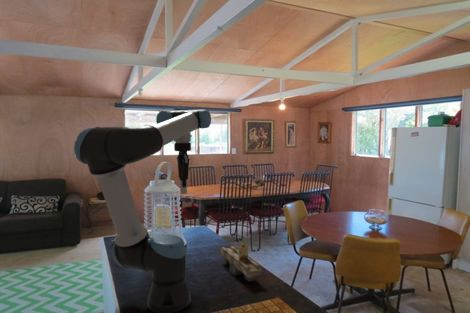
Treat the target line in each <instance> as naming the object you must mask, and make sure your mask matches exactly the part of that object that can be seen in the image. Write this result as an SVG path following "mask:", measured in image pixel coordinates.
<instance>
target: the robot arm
mask: <svg viewBox="0 0 470 313" xmlns="http://www.w3.org/2000/svg"><path fill="white" fill-rule="evenodd" d="M155 118H156V119H155V121H156V123H155V124H144V125H141V126H108V127H107V126H105V127H100V126H95V127H89V128H86V129H82V131H80V133H78V135H77V137H76V140H75V141H74V147H73V150H74V152H73V153H74V155H75V157H76V159H77V161H79V162H80V163H82V164H85V165H87V167H88V170H89V172H90V173H89V174H90V175H92V176H95V177H96V178H97V180H98V184H99V186H100V189H101V192H102V195H103V197H104V200H105V203H106V206H107V210H108V212H109V215H110V218H111V220H112V224H113V226H114V230H115V232H116V236H115V238H114V241H113V244H112V248H113V249H112V250H111V255H112V259H113V261H114V262H115V263H116V265H118V266H119V267H122V268H125V269H130V270H136V271H143V272H149V273H151V286H150V289H149V294H148V296H147V301H146V302H147V308H148V310H150V311H151V312H153V313H177V312H180V311H182V310H185V309H186V308H187V307H189V305H190V304H191V301H192V300H191V299H192V296H191V291H190V289H189V285H188V283H187V279H186V278H187V277H186V253H187V251H186V246H185V241H184V239H183V238H182V237H180V236H178V235H175V234H172V233H159V234H156V235H153V236H152V237H150V235H149V231H148V228H147V227H145V226H143V225H142V223H141V220H140V217H139V214H138V210H137V207H136V204H135V200H134V198H133V194H132V190H131V188H130V184H129V182H128V178H127V174H126V171H125V167H126V166H127V165H130V164H133V163H137V162H139V161H140V162H141V161H142V160H144V159H146V158H149V157H151V156H153V155H154V154H157V153H159V152H160V151H161V150H162V148H163V147H164V146H165V145H167V144H169V143H172V142H174V144H173V146H174V147H173V148H174V151H175V152H178V155H177V157H176V161H177V172H178V178H179V190H180V195H187V194H188V179H189V168H190V165H189V164H190V158H189V154H188V152H191V150H192V143H191V141H192V140H191V139H192V137H193V136H192V134H191V133H192V132H194V131H196V130H198V129H202V130H203V129H208V128H209V127H210V126H211V124H212V115H211V113H210V111H209V110H208V109H201V108H200V109H192V110H191V109H190V108H188V107H174V109H173V110H160V111H158V113H157V114H156V117H155Z"/></svg>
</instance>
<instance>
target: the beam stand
mask: <svg viewBox="0 0 470 313" xmlns="http://www.w3.org/2000/svg"><path fill="white" fill-rule="evenodd" d="M219 253H220V255H222V256H223V258H225V263H226V264H228V265H229V273H231V274H232V275H233V276H240V275H244V277H243V278H244V279H245V280H246V281H247V282H254V281H258V280H259V275H262V268H261V267H260V266H261V265H260V264H259V263H257V262H255V261H254V260H253V259H252V258H250V257H249V256H248V259H247V262H242V261H241V260H240V259H239V258H238V248H237V247H235V246H234V245H230V247H224V246H222V247H221V248H220V250H219Z"/></svg>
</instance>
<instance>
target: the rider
mask: <svg viewBox="0 0 470 313" xmlns="http://www.w3.org/2000/svg"><path fill="white" fill-rule="evenodd" d="M237 249H238V258H239V259H240V260H241V261H242V262H247V259H248V257H249V246H248V245H247V244H246V243H241V244H240V245H238V248H237Z"/></svg>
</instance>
